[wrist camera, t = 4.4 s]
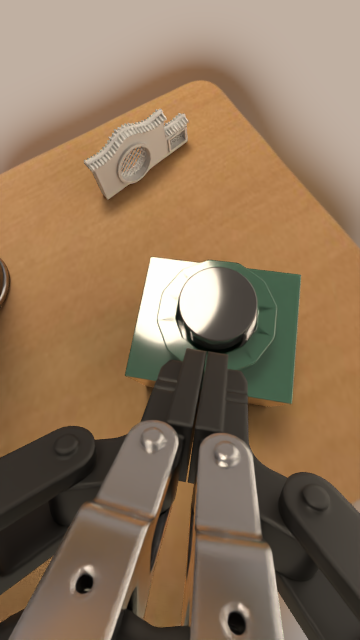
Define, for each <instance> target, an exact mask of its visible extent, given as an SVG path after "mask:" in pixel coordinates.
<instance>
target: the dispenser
mask: <svg viewBox="0 0 360 640" xmlns="http://www.w3.org/2000/svg"><path fill="white" fill-rule="evenodd" d="M211 267H225V268H229V269H232V270H235V271H237V272H239V273H240V274H242V275H243V276H244V277H245V278H246V279H247V280H248V281H249V282H250V283H251V285H252V286H253V288H254V290H255V293H256V296H257V302H258V306H257V313H256V316H255V319H254V321H253V323H252V325H251V327H250V328H249V330H248V332H247V334H246V335H245V337H244V338H243V339H242V340H241V341H240V342H239V343H237V344H236V345H234V346H232V347H230V348H226V349H221V350H212V349H207V348H204V347H202V346H200V345H198V344H196V343H195V342H194V341H192V340H191V339H190V337H189V336H188V335H187V333H186V332H185V330H184V328H183V324H182V321H181V317H180V313H179V306H178V301H179V295H180V292H181V290H182V287H183V286H184V284H185V283H186V281H187V280H188V279H189V278H190V277H191V276H193V275H194V274H195V273H197V272H199V271H201V270H203V269H206V268H211ZM300 285H301V275H298V274H290V273H282V272H274V271H265V270H257V269H249V268H245V267H244V266H242V265H241V264H239V263H233V262H225V261H216V260H207V261H204V262H201V263H199V262H190V261H182V260H174V259H165V258H157V257H151V258H150V262H149V267H148V271H147V276H146V280H145V285H144V290H143V294H142V299H141V303H140V308H139V313H138V317H137V322H136V326H135V331H134V336H133V340H132V345H131V349H130V354H129V359H128V363H127V368H126V372H125V376H126V377H128V378H131V379H133V380H135V381H137V382H139V383H141V384H143V385H145V386H150V387H154V385H155V383H156V380H157V377H158V375H159V372H160V369H161V367H162V366H163V365H165V364H166V363H167V362H168V361H169V360H176V361H182V362H183V359H184V356H185V352H186V349H187V348H189V349H195V350H202V351H207V353H206V361H205V368H206V362H207V356H208V352H215V353H221V354H227V355H228V367H227V369H232V370H238V371H242V373H243V375H244V376H245V378H246V380H247V382H248V403H249V404H255V405H261V406H267V407H270V406H279V405H287V404H292V396H293V382H294V368H295V355H296V341H297V327H298V313H299V299H300ZM205 368H204V373H205ZM203 379H204V375H203ZM202 385H203V383H202Z"/></svg>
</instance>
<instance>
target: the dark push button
mask: <svg viewBox="0 0 360 640" xmlns="http://www.w3.org/2000/svg"><path fill="white" fill-rule="evenodd" d="M178 306H179V313H180V317H181V321H182V324H183V328H184V330H185V332H186V333H187V335H188V336H189V337H190V339H191V340H192V341H194V342H195V343H196V344H198V345H200V346H202V347H204V348H207V349H212V350H221V349H226V348H230V347H232V346H234V345H236V344H237V343H239V342H240V341H241V340H242V339H243V338H244V337H245V335H246V334H247V332H248V330H249V328H250V327H251V325H252V323H253V321H254V319H255V316H256V313H257V306H258V302H257V296H256V293H255V290H254V288H253V286H252V285H251V283H250V282H249V281H248V280H247V279H246V278H245V277H244V276H243V275H242V274H240V273H239V272H237V271H235V270H232V269H229V268H225V267H211V268H206V269H203V270H201V271H199V272H197V273H195V274H194V275H193V276H191V277H190V278H189V279H188V280H187V281H186V283H185V284H184V286H183V287H182V290H181V292H180V295H179V301H178Z"/></svg>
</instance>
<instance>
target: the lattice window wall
mask: <svg viewBox="0 0 360 640" xmlns="http://www.w3.org/2000/svg"><path fill="white" fill-rule="evenodd" d="M155 111H156V112H155V113H154V112H153V115H150V118H149V117H147V120H146V119H144V121H141V122H138V123H136V122H135V124H133V123H132V124H130V123H128V125H127V124H126V123H125V124H124V125H125V126H123V125H121V128H120V127H118V129H117V130H116V129H114V131H115V132H114V133H112V137H109V139H110V140H107V142H108V143H107V144H105V147H102V150H100V153H97V155H93V156H94V157H92V156H91V158H90V159H89V158H87V159H88V160H87V161H86V160H84V164H85V165H86V166H87V167H88V168H89V169H90V170H91V171H92V173H93V175H94V177H95V179H96V181H97V184H98V186H99V188H100V190H101V192H102V194H103V195H104V196H105V197H106V198H107V199H110V198H111V197H112V196H114V195H115V194H116V193H118V192H119V191H121V190H122V189H123V188H125V187H126V186H127V185H129V184H132V183H136V182H137V181H139V180H141V179H142V178H143V177H144V176H145V175H146V173H147V172H148V171H149V169H151V168H152V167H153V166H155V165H156V164H157V163H159V162H160V161H161V160H163V159H164V158H166V157H167V156H168V155H170V154H171V153H172V152H174V151H175V150H176V149H178V148H179V147H180V146H182V145H183V144H185V143H186V142H187V140H188V138H187V126H186V124H187V123H189V121H188V119H187V118H186V117H185V114H184V113H183V114H180V113H178V116H177V115H176V118H173V120H171V121H170V122H168V124H167V123H165V126H164V121H165V120H167V119H166V117H165V115H164V114H163V111H162V110H161V109H159V110H155ZM139 147H141V148H139ZM135 148H137V149H136V151H134V150H135ZM132 149H133V150H132ZM138 149H140V150H139V152H137V150H138ZM131 150H132V152H131ZM140 151H141V154H139V153H140ZM130 152H131V154H130ZM133 152H135V153H134V155H132V154H133ZM136 153H137V155H136V157H135V154H136ZM126 155H127V156H126ZM129 155H130V156H129ZM138 155H140V156H139V158H137V156H138ZM128 156H129V158H128ZM131 156H132V158H131V159H130V157H131ZM134 157H135V159H134V161H133V158H134ZM124 158H125V160H124ZM126 159H128V160H127V162H125V161H126ZM136 159H138V160H137V162H135V160H136ZM123 160H124V161H123ZM129 160H130V162H129V163H128V161H129ZM131 161H133V163H132V164H130V163H131ZM122 162H123V164H122ZM134 162H135V163H136V164H135V165H134V166H133V164H134ZM124 163H125V165H124ZM127 164H128V166H127V168H126V165H127ZM123 165H124V166H123ZM129 165H130V168H129V169H128V167H129ZM122 167H123V169H122ZM131 167H133V168H131ZM124 168H125V171H124V172H123V170H124ZM121 169H122V171H121ZM127 170H128V171H127Z"/></svg>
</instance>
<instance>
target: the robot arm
mask: <svg viewBox="0 0 360 640" xmlns="http://www.w3.org/2000/svg"><path fill="white" fill-rule="evenodd" d="M8 288H9V275H8V271H7V268H6V266H5V264H4V262H3V261H2V260H1V259H0V308H1V306H2V304H3V303H4V301H5V298H6V296H7V292H8ZM206 353H207V351H202V350H195V349H189V348H187V349H186V352H185V356H184V359H183V362H182V361H176V360H169V361H168V362H167V363H166V364H165V365H163V366H162V367H161V369H160V372H159V375H158V377H157V380H156V383H155V385H154V388H153V390H152V393H151V396H150V398H149V401H148V404H147V406H146V409H145V412H144V414H143V417H142V420H141V422H140V423H138V424H137V425H135V426H134V427H133V428H132V429H131V430H130V431H129V433H128V434H127V435H124V436H121V437H118V438H111V439H100V440H95V439H94V437H93V435H92V433H91V432H90V431H88V430H87V429H85V428H83V427H79V426H67V427H63V428H60V429H57V430H55V431H53V432H51V433H49V434H47V435H45V436H43V437H41V438H39V439H37V440H35V441H33V442H31V443H29V444H27V445H25V446H23V447H21V448H19V449H17V450H15V451H13V452H11V453H9V454H7V455H5V456H3V457H1V458H0V595H1V594H2V593H4V592H5V591H6V590H8V589H9V588H11V587H12V586H13V585H15V584H16V583H17V582H19V581H20V580H21V579H23V578H24V577H25V576H27V575H28V574H29V573H31V572H32V571H33V570H35V569H36V568H37V567H39V566H40V565H41V564H43V563H44V562H45V561H47V560H48V559H49V558H51V557H52V556H53V558H52V559H51V561H50V563H49V565H48V567H47V569H46V571H45V572H44V574H43V576H42V578H41V580H40V582H39V584H38V585H37V587H36V589H35V591H34V593H33V595H32V597H31V598H30V600H29V602H28V604H27V606H26V608H25V609H23V610H21V611H19V612H18V613H16V614H14V615H12V616H10V617H9V618H7V619H6V620H4V621H3V622H1V623H0V640H284V636H283V628H282V621H281V614H280V607H279V600H278V592H279V594H280V595H281V597H282V598H283V600H284V602H285V603H286V605H287V606H288V608H289V609H290V611H291V613H292V614H293V616H294V617H295V619H296V621H297V622H298V624H299V625H300V627H301V628H302V630H303V632H304V633H305V635H306V636H307V638H308V639H309V640H360V513H359V512H358V511H357V510H356V509H355V508H354V507H353V506H352V505H351V504H350V503H349V502H348V501H347V500H346V498H345V497H344V496H343V495H342V494H341V493H340V492H339V491H338V490H337V489H336V488H335V487H334V486H333V485H332V484H330V483H329V482H328V481H326V480H325V479H323V478H322V477H320V476H317V475H315V474H312V473H307V472H299V473H295V474H292V475H291V476H289V477H288V478H287V477H285V476H283V475H281V474H279V473H277V472H275V471H273V470H271V469H269V468H267V467H266V466H265V465H263V464H262V463H261V462H260V461H259V460H258V459H257V458H256V457H255V456H254V454H253V453H252V451H251V449H250V446H249V440H248V382H247V380H246V378H245V376H244V375H243V373H242V371H238V370H232V369H227V367H228V355H227V354H221V353H215V352H208V356H207V362H206V368H205V361H206ZM204 368H205V373H204ZM203 375H204V379H203ZM202 383H203V385H202ZM193 437H194V439H193ZM192 443H193V447H192ZM191 448H192V454H191ZM190 454H191V462H190V470H189V477H188V483H193V484H194V488H193V495H192V502H191V509H190V519H189V533H188V546H187V560H186V574H185V587H184V598H183V607H182V617H181V626H175V627H163V628H158V627H154V626H152V625H150V624H149V623H147V622H146V621H144V620H143V618H144V614H145V610H146V605H147V601H148V596H149V590H150V586H151V581H152V577H153V573H154V570H155V566H156V563H157V559H158V556H159V552H160V548H161V545H162V541H163V538H164V534H165V531H166V527H167V523H168V520H169V516H170V513H171V509H172V504H173V501H174V499H175V496H176V491H177V486H178V481H183V482H186V477H187V471H188V465H189V460H190ZM277 590H278V592H277Z"/></svg>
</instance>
